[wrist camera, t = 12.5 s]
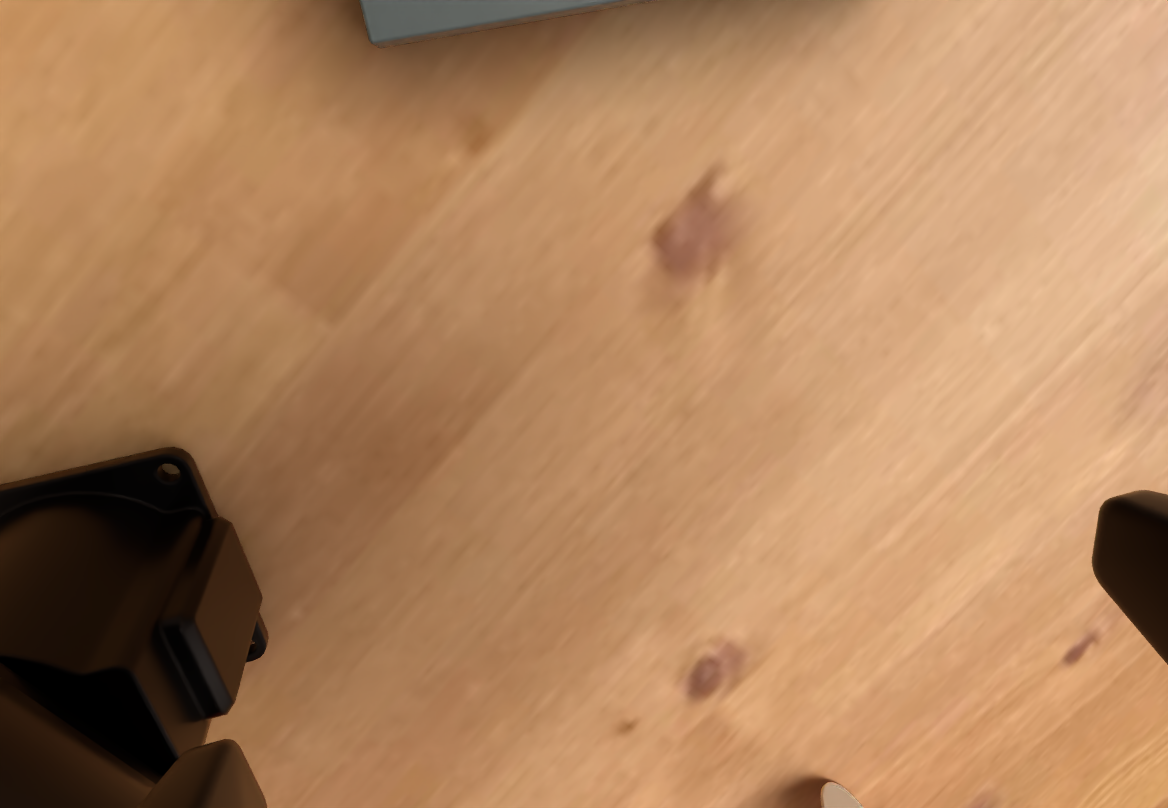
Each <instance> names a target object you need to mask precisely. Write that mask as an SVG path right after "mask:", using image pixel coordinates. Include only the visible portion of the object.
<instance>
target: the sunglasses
mask: <svg viewBox="0 0 1168 808" xmlns="http://www.w3.org/2000/svg"><path fill="white" fill-rule="evenodd" d="M821 807H822V808H863V806H862V805H861V804H860V803H859V802H858V800H857V799H856V798H855V797H854V796H853V795H852V794H851V793H850V792H849V791H848V790H846V789H845V788H844V787H843V786H841V785H839V784H837V783H834V782H828V783H826V784H824V786H823V787H822V789H821Z"/></svg>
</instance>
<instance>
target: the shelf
mask: <svg viewBox="0 0 1168 808" xmlns="http://www.w3.org/2000/svg"><path fill="white" fill-rule="evenodd" d="M651 1H657V0H359V2H360V6H361V10H362V14H363V18H364V22H365V26H366V30H367V34H368V38H369V41H370V42H371V43H372V44H374V45H376V46H378V47H379V48H385V47H391V46H396V45H402V44H408V43H414V42H420V41H425V40H431V39H437V38H443V37H449V36H454V35H460V34H466V33H472V32H477V31H483V30H489V29H495V28H501V27H506V26H512V25H518V24H524V23H530V22H535V21H541V20H547V19H553V18H558V17H564V16H570V15H576V14H582V13H587V12H593V11H599V10H605V9H610V8H616V7H622V6H628V5H634V4H639V3H645V2H651Z"/></svg>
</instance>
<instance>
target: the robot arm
mask: <svg viewBox="0 0 1168 808" xmlns="http://www.w3.org/2000/svg"><path fill="white" fill-rule="evenodd" d="M163 464H172V465H175V466H177V468H178V469H179V470H180V473H179V474H169V473H167V472H165V471H164V470H163V468H162V465H163ZM1092 567H1093V571H1094V574H1095V576H1096V578H1097V580H1098V582H1099V583H1100V585H1101V586H1102V587H1103V589H1104V590H1105V591H1106V592H1107V593H1108V595H1109V596H1110V597H1111V598H1112V599H1113V600H1114V602H1115V603H1116V604H1117V605H1118V606H1119V608H1120V609H1121V610H1122V611H1123V612H1124V613H1125V615H1126V616H1127V617H1128V618H1129V619H1130V621H1131V622H1132V623H1133V624H1134V625H1135V627H1136V628H1137V629H1138V630H1139V631H1140V632H1141V634H1142V635H1143V636H1144V637H1145V638H1146V640H1147V641H1148V642H1149V643H1150V644H1151V645H1152V647H1153V648H1154V649H1155V650H1156V651H1157V653H1158V654H1159V655H1160V656H1161V657H1162V658H1163V660H1164V661H1165V662H1166V663H1167V664H1168V495H1166V494H1162V493H1158V492H1154V491H1148V490H1139V491H1134V492H1130V493H1127V494H1123V495H1119V496H1116V497H1112V498H1109V499H1108V500H1106V501H1105V502H1104V503H1103V505H1102V506H1101V508H1100V511H1099V515H1098V522H1097V529H1096V535H1095V542H1094V548H1093V555H1092ZM261 602H262V594H261V591H260V589H259V587H258V584H257V582H256V579H255V577H254V575H253V572H252V570H251V568H250V565H249V563H248V560H247V558H246V556H245V553H244V551H243V549H242V546H241V544H240V542H239V539H238V537H237V534H236V532H235V530H234V527H233V525H232V523H231V522H229V521H228V520H226V519H224V518H223V517H218V515H217V513H216V511H215V508H214V506H213V504H212V501H211V499H210V497H209V494H208V492H207V490H206V487H205V485H204V483H203V480H202V478H201V476H200V473H199V471H198V469H197V466H196V464H195V462H194V460H193V458H192V457H191V455H190V454H189V453H187V452H186V451H184V450H183V449H179V448H175V447H167V448H161V449H157V450H152V451H148V452H144V453H139V454H135V455H130V456H126V457H122V458H117V459H113V460H108V461H104V462H100V463H95V464H91V465H86V466H82V467H78V468H73V469H69V470H64V471H60V472H56V473H51V474H47V475H42V476H38V477H34V478H29V479H25V480H20V481H16V482H12V483H7V484H3V485H0V808H267V804H266V801H265V797H264V795H263V793H262V791H261V789H260V787H259V785H258V782H257V780H256V778H255V776H254V774H253V772H252V770H251V768H250V766H249V764H248V762H247V760H246V758H245V756H244V754H243V752H242V750H241V748H240V746H239V745H238V744H237V743H236V742H235V741H233V740H230V739H224V740H220V741H216V742H213V743H209V744H205V745H204V743H205V740H206V736H207V733H208V729H209V726H210V723H211V719H212V718H215V717H219V716H223V715H227V714H228V712H229V711H230V709H231V707H232V706H233V704H234V703H235V700H236V697H237V693H238V689H239V685H240V681H241V678H242V674H243V670H244V666H245V663H246V662H250V661H253V660H256V659H258V658H260V657H261V656H262V655H263V654H264V652H265V650H266V647H267V642H268V632H267V630H266V627H265V625H264V623H263V620H262V618H261V616H260V613H259V610H260V606H261ZM251 640H252V641H254V642H255V643H254V644H251Z"/></svg>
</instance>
